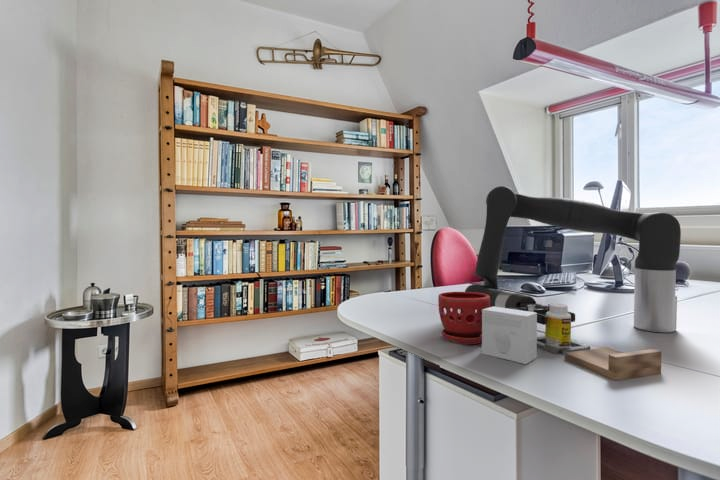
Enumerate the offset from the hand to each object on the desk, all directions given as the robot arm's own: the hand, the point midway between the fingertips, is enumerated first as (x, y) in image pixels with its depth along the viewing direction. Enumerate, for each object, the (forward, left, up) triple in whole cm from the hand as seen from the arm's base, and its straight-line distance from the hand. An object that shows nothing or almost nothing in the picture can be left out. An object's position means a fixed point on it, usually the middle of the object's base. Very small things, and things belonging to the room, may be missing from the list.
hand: (560, 319), depth 92 cm
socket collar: (0, -1, -7) cm, 7 cm away
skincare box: (+16, +1, -7) cm, 18 cm away
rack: (0, +13, -7) cm, 15 cm away
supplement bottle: (0, -1, -7) cm, 7 cm away
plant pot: (+19, -13, -7) cm, 24 cm away
